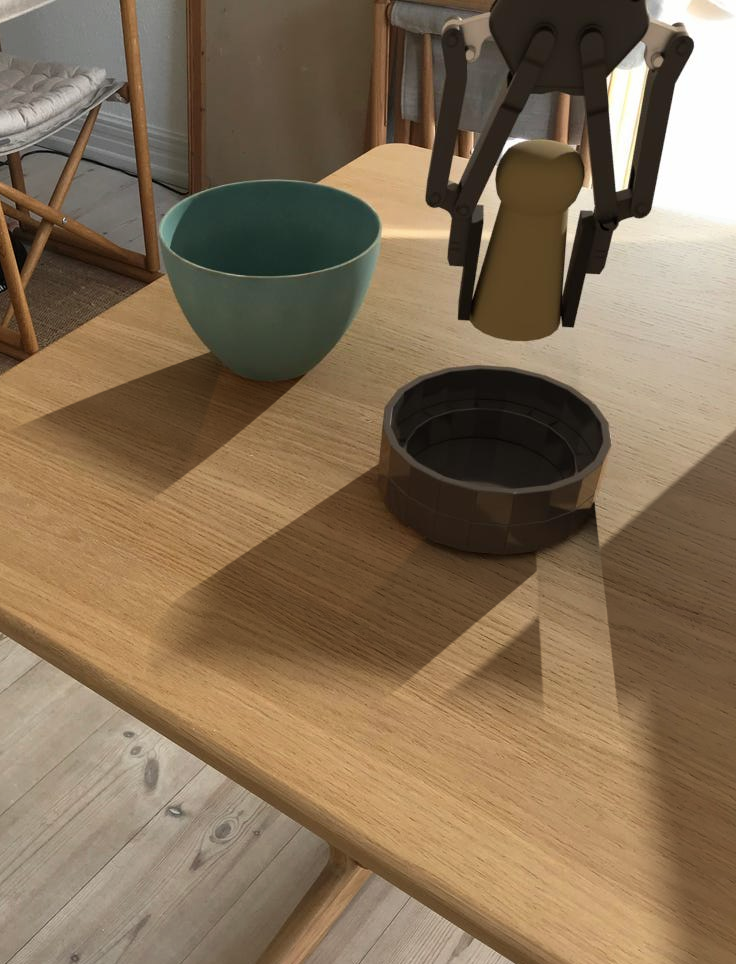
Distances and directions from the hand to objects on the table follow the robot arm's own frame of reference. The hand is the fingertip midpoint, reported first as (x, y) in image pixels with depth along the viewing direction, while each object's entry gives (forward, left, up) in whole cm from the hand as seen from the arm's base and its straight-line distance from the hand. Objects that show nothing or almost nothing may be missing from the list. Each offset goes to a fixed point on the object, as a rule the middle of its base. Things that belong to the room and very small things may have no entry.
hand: (515, 313), depth 69 cm
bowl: (0, 0, -15) cm, 15 cm away
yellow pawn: (0, 0, -1) cm, 1 cm away
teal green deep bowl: (+19, -17, -15) cm, 29 cm away
